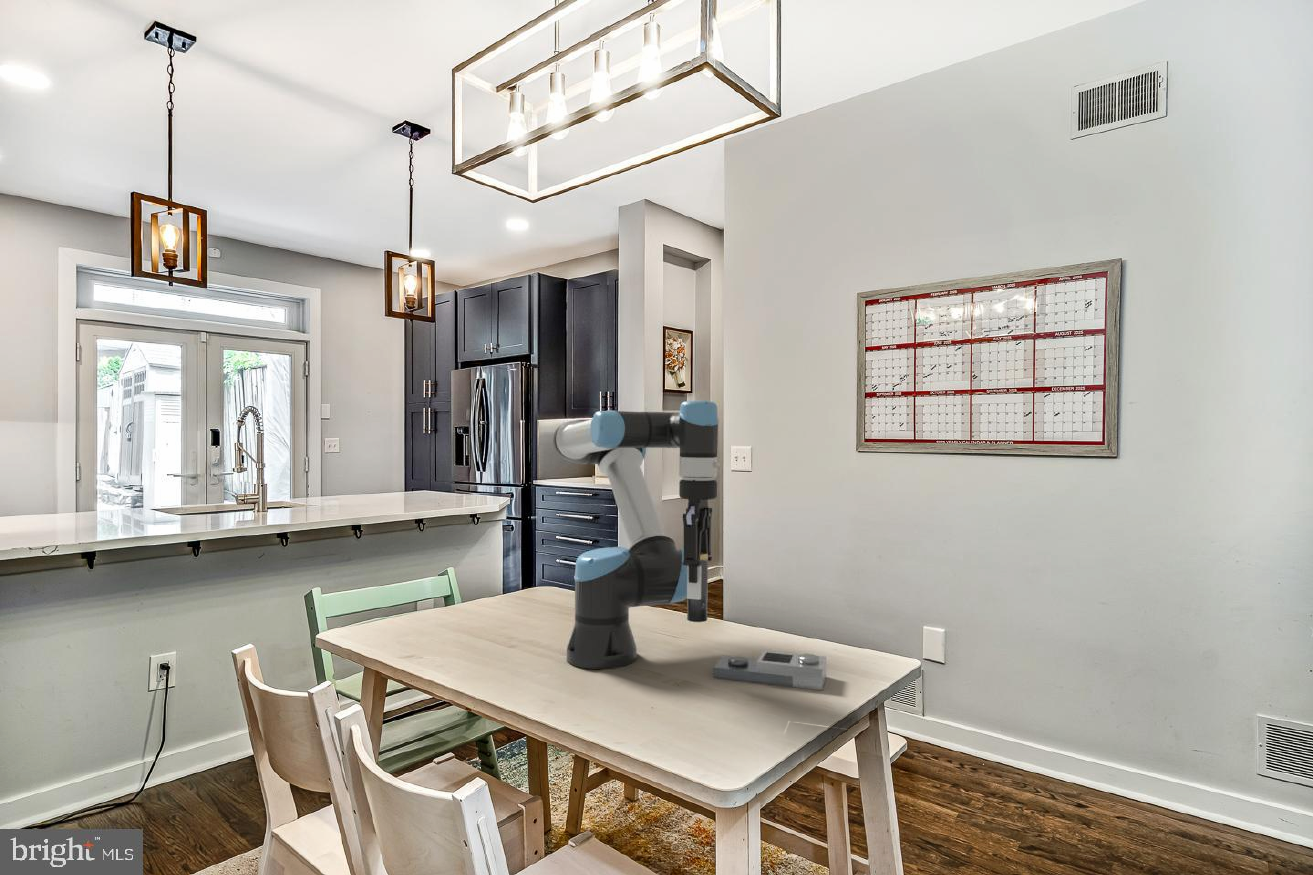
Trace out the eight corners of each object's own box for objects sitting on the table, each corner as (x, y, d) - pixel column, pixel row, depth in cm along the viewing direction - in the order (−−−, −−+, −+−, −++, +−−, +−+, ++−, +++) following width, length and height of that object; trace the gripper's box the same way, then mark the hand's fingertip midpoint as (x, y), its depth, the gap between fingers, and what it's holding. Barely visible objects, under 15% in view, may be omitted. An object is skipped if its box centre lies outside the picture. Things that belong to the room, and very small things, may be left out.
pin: (684, 620, 135) (685, 555, 135) (690, 615, 139) (690, 551, 138) (704, 622, 133) (704, 556, 133) (709, 617, 137) (710, 553, 137)
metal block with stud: (713, 677, 135) (713, 653, 135) (723, 664, 143) (723, 642, 143) (822, 690, 129) (822, 664, 129) (826, 676, 136) (826, 652, 136)
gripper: (705, 482, 127) (704, 607, 127) (726, 476, 143) (725, 588, 143) (667, 480, 129) (665, 604, 129) (692, 475, 145) (691, 585, 145)
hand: (697, 595), depth 136 cm, fingers closed on pin, 4 cm apart
